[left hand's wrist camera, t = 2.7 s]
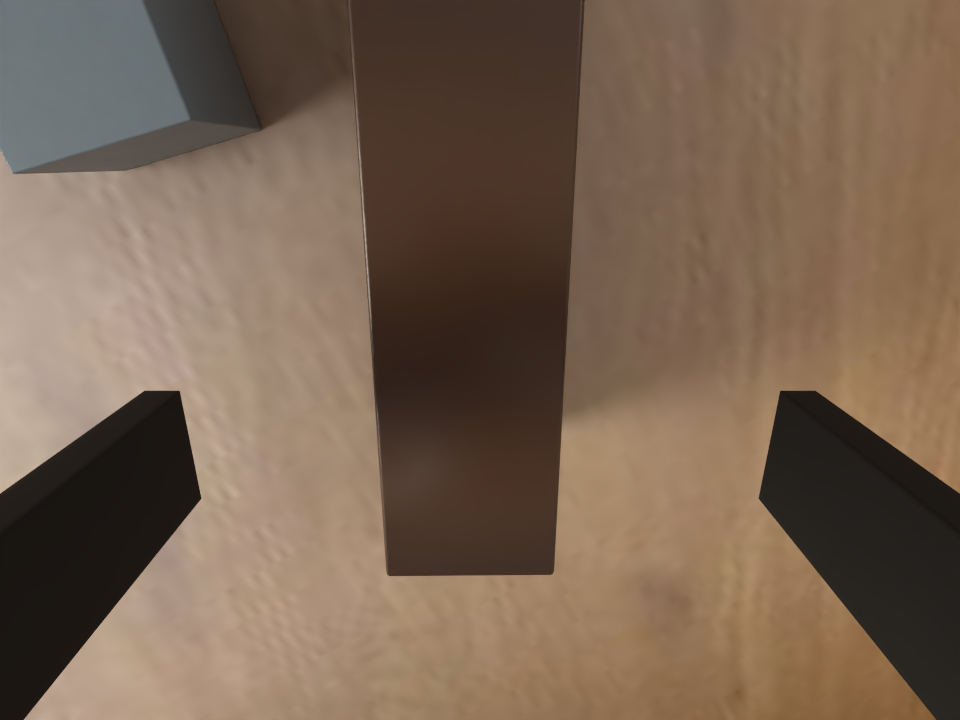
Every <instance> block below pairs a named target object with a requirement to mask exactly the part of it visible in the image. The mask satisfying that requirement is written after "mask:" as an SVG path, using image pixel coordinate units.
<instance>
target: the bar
mask: <svg viewBox="0 0 960 720" xmlns="http://www.w3.org/2000/svg"><path fill="white" fill-rule="evenodd" d="M584 2H585V0H348V14H349V29H350V43H351V58H352V73H353V87H354V102H355V117H356V131H357V146H358V161H359V175H360V190H361V205H362V219H363V234H364V249H365V263H366V278H367V293H368V307H369V322H370V337H371V351H372V366H373V381H374V395H375V410H376V425H377V439H378V454H379V469H380V483H381V498H382V513H383V527H384V542H385V557H386V571H387V574H388V575H389V576H450V575H551V574H553V572H554V560H555V541H556V522H557V504H558V485H559V467H560V448H561V429H562V411H563V392H564V374H565V355H566V336H567V318H568V299H569V281H570V262H571V243H572V225H573V206H574V188H575V169H576V150H577V132H578V113H579V95H580V76H581V57H582V39H583V20H584Z"/></svg>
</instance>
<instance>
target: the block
mask: <svg viewBox="0 0 960 720" xmlns="http://www.w3.org/2000/svg"><path fill="white" fill-rule="evenodd" d="M260 130H261V127H260V124H259V122H258V119H257V116H256V114H255V111H254V108H253V105H252V103H251V100H250V97H249V95H248V92H247V89H246V86H245V84H244V81H243V78H242V76H241V73H240V70H239V68H238V65H237V62H236V59H235V57H234V54H233V51H232V49H231V46H230V43H229V40H228V38H227V35H226V32H225V30H224V27H223V24H222V22H221V19H220V16H219V13H218V11H217V8H216V5H215V3H214V0H0V150H1V152H2V154H3V156H4V158H5V160H6V162H7V164H8V166H9V168H10V170H11V172H12V173H13V174H28V173H60V172H93V171H126V170H129V169H132V168H136V167H139V166H142V165H146V164H149V163H152V162H156V161H159V160H163V159H166V158H169V157H173V156H176V155H179V154H183V153H186V152H189V151H193V150H196V149H199V148H203V147H206V146H210V145H213V144H216V143H220V142H223V141H226V140H230V139H233V138H236V137H240V136H243V135H246V134H250V133H253V132H257V131H260Z"/></svg>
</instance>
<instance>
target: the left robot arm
mask: <svg viewBox="0 0 960 720" xmlns="http://www.w3.org/2000/svg"><path fill="white" fill-rule="evenodd" d="M200 499H201V495H200V490H199V485H198V480H197V475H196V470H195V465H194V460H193V455H192V450H191V445H190V440H189V435H188V430H187V425H186V420H185V415H184V410H183V405H182V400H181V395H180V391H144V392H142V393H141V394H139V395H138V396H137V397H135V398H134V399H132V400H131V401H130V402H128V403H127V404H125V405H124V406H123V407H121V408H120V409H118V410H117V411H116V412H114V413H113V414H111V415H110V416H109V417H107V418H106V419H104V420H103V421H102V422H100V423H99V424H97V425H96V426H95V427H93V428H92V429H90V430H89V431H88V432H86V433H85V434H83V435H82V436H81V437H79V438H78V439H76V440H75V441H74V442H72V443H71V444H69V445H68V446H67V447H65V448H64V449H62V450H61V451H60V452H58V453H57V454H55V455H54V456H53V457H51V458H50V459H48V460H47V461H46V462H44V463H43V464H41V465H40V466H39V467H37V468H36V469H34V470H33V471H32V472H30V473H29V474H27V475H26V476H25V477H23V478H22V479H20V480H19V481H18V482H16V483H15V484H13V485H12V486H10V487H9V488H8V489H6V490H5V491H3V492H2V493H1V494H0V720H24V718H25V717H26V716H27V715H28V713H29V712H30V711H31V710H32V709H33V707H34V706H35V705H36V704H37V702H38V701H39V700H40V699H41V697H42V696H43V695H44V694H45V692H46V691H47V690H48V689H49V687H50V686H51V685H52V684H53V682H54V681H55V680H56V679H57V677H58V676H59V675H60V674H61V672H62V671H63V670H64V669H65V667H66V666H67V665H68V664H69V662H70V661H71V660H72V659H73V657H74V656H75V655H76V654H77V653H78V651H79V650H80V649H81V648H82V646H83V645H84V644H85V643H86V641H87V640H88V639H89V638H90V636H91V635H92V634H93V633H94V631H95V630H96V629H97V628H98V626H99V625H100V624H101V623H102V621H103V620H104V619H105V618H106V616H107V615H108V614H109V613H110V611H111V610H112V609H113V608H114V606H115V605H116V604H117V603H118V601H119V600H120V599H121V598H122V597H123V595H124V594H125V593H126V592H127V590H128V589H129V588H130V587H131V585H132V584H133V583H134V582H135V580H136V579H137V578H138V577H139V575H140V574H141V573H142V572H143V570H144V569H145V568H146V567H147V565H148V564H149V563H150V562H151V560H152V559H153V558H154V557H155V555H156V554H157V553H158V552H159V550H160V549H161V548H162V547H163V546H164V544H165V543H166V542H167V541H168V539H169V538H170V537H171V536H172V534H173V533H174V532H175V531H176V529H177V528H178V527H179V526H180V524H181V523H182V522H183V521H184V519H185V518H186V517H187V516H188V514H189V513H190V512H191V511H192V509H193V508H194V507H195V506H196V504H197V503H198V502H199V501H200ZM759 499H760V501H761V502H762V503H763V504H764V506H765V507H766V508H767V509H768V511H769V512H770V513H771V514H772V516H773V517H774V518H775V519H776V521H777V522H778V523H779V524H780V526H781V527H782V528H783V529H784V531H785V532H786V533H787V534H788V536H789V537H790V538H791V539H792V541H793V542H794V543H795V544H796V546H797V547H798V548H799V549H800V550H801V552H802V553H803V554H804V555H805V557H806V558H807V559H808V560H809V562H810V563H811V564H812V565H813V567H814V568H815V569H816V570H817V572H818V573H819V574H820V575H821V577H822V578H823V579H824V580H825V582H826V583H827V584H828V585H829V587H830V588H831V589H832V590H833V592H834V593H835V594H836V595H837V597H838V598H839V599H840V600H841V601H842V603H843V604H844V605H845V606H846V608H847V609H848V610H849V611H850V613H851V614H852V615H853V616H854V618H855V619H856V620H857V621H858V623H859V624H860V625H861V626H862V628H863V629H864V630H865V631H866V633H867V634H868V635H869V636H870V638H871V639H872V640H873V641H874V643H875V644H876V645H877V646H878V648H879V649H880V650H881V651H882V653H883V654H884V655H885V656H886V657H887V659H888V660H889V661H890V662H891V664H892V665H893V666H894V667H895V669H896V670H897V671H898V672H899V674H900V675H901V676H902V677H903V679H904V680H905V681H906V682H907V684H908V685H909V686H910V687H911V689H912V690H913V691H914V692H915V694H916V695H917V696H918V697H919V699H920V700H921V701H922V702H923V704H924V705H925V706H926V707H927V709H928V710H929V711H930V712H931V713H932V715H933V716H934V717H935V718H936V720H960V494H959V493H958V492H957V491H955V490H954V489H952V488H951V487H950V486H948V485H947V484H945V483H944V482H942V481H941V480H940V479H938V478H937V477H935V476H934V475H933V474H931V473H930V472H928V471H927V470H926V469H924V468H923V467H921V466H920V465H919V464H917V463H916V462H914V461H913V460H912V459H910V458H909V457H907V456H906V455H905V454H903V453H902V452H900V451H899V450H898V449H896V448H895V447H893V446H892V445H891V444H889V443H888V442H886V441H885V440H884V439H882V438H881V437H879V436H878V435H877V434H875V433H874V432H872V431H871V430H870V429H868V428H867V427H865V426H864V425H863V424H861V423H860V422H858V421H857V420H856V419H854V418H853V417H851V416H850V415H849V414H847V413H846V412H844V411H843V410H842V409H840V408H839V407H837V406H836V405H835V404H833V403H832V402H830V401H829V400H828V399H826V398H825V397H823V396H822V395H821V394H819V393H818V392H816V391H780V395H779V400H778V405H777V410H776V415H775V420H774V425H773V430H772V435H771V440H770V445H769V450H768V455H767V460H766V465H765V470H764V475H763V480H762V485H761V490H760V495H759Z"/></svg>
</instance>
